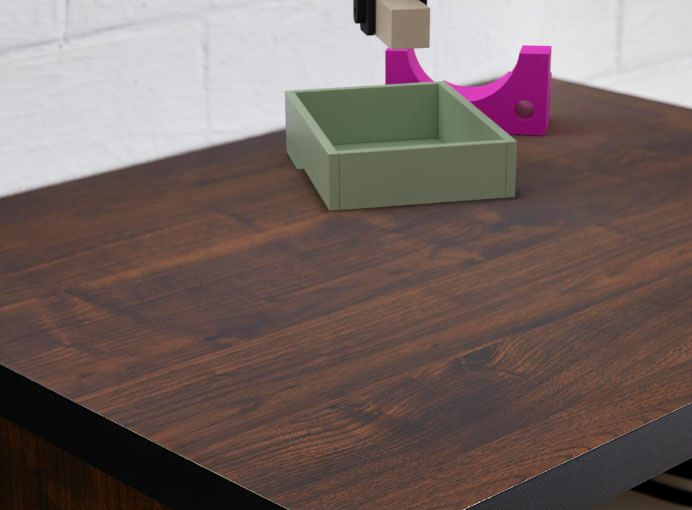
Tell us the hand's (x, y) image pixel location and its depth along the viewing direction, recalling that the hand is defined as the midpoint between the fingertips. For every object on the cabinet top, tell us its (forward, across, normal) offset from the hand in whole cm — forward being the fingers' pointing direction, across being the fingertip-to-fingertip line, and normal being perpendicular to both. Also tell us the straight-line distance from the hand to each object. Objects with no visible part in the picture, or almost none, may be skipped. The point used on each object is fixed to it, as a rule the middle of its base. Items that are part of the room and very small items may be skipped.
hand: (389, 29), depth 111 cm
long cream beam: (0, 0, 0) cm, 0 cm away
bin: (+12, 0, 0) cm, 13 cm away
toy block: (+13, -11, -16) cm, 23 cm away
